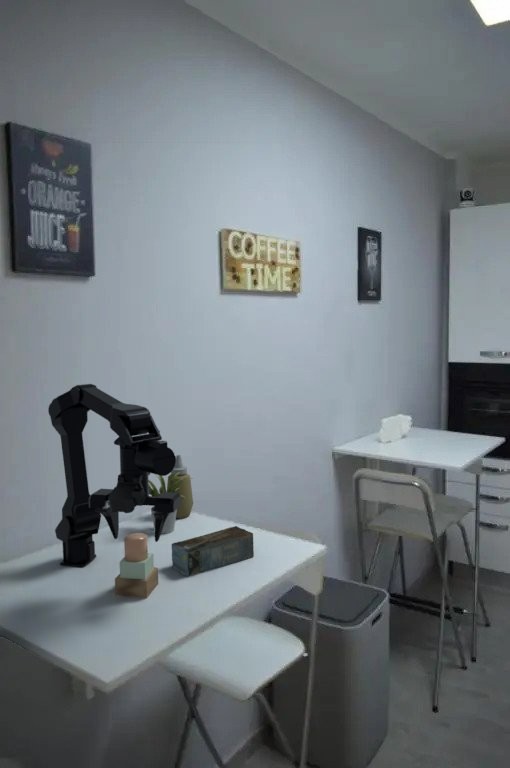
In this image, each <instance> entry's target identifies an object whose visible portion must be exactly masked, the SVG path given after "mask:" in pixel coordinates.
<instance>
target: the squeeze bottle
mask: <svg viewBox="0 0 510 768" xmlns="http://www.w3.org/2000/svg"><path fill="white" fill-rule="evenodd" d="M175 456H176V463H175V466H174V469H173V470H172V471H171V472H170V474H168V475H167V483H166V491H167V490H168V486H169V483H170V480H171V479H172V477H173V476H174V475H175V474H177V473H179V472H181V473H179V474H178V475H177V477H176V479H175V480H174V482H173V484H172V486H171V488H172V487H173V486H174V484H175V483H176V482H178V481H179V480H180V479H182V480H184V479H187V480H185V481H183V482H182V483H180V482H181V481H182V480H181V481H180V482H179V483H180V484H179V483H178V484H179V486H178V487H177V488H179V489H178V490H177V491H176V493H179V494H180V495H183V496H185V497H181V500H183V501H181V506H180V507H179V508H178V509H177V513H176V519H184V518H187V516H188V517H189V516H190V515H191V512H192V510H193V507H194V498H193V489H192V481H191V480H192V479H188V478H191V476H190V474H189V473H188V470H187V469H188V467H187V466H184V465H183V464H184V463H183V460H182V456H181V454H177V455H175ZM173 488H174V487H173ZM173 488H172V489H173ZM177 488H176V489H177ZM183 517H184V518H183Z"/></svg>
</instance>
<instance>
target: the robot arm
mask: <svg viewBox="0 0 510 768" xmlns="http://www.w3.org/2000/svg"><path fill="white" fill-rule="evenodd" d="M47 410H48V415H49V417H50V421H51V426H52V427H53V428H54V429H55V432H57V433H58V435H59V436H60V442H61V452H62V453H61V454H62V461H63V467H64V468H63V469H64V476H65V484H66V486H65V487H66V492H67V493H66V496H67V497H66V499H65V501H64V504H63V505H62V507H61V516H62V517H61V520H60V521H59V523H58V525H56V528H55V529H54V533H55V535H56V536H55V537H56V539H57V540H59V541H61V542H62V558H63V559H62V560H61V561H60V562H59V565H60V566H72V567H73V566H74V567H84V568H85V567H86V566H87V565H88V564H89V563H91V562H92V561H93V560H94V559H96V557H97V554H96V549H95V545H96V544H95V541H94V539H93V535H98V533H99V530H100V524H101V519H102V516H103V517H104V520H106V523H107V525H108V527H109V530H110V532H111V535H112V536H113V539H114V540H117V539H119V531H120V528H119V527H120V525H119V523H120V522H119V520H120V519H119V518H120V517H119V515H120V514H119V513H125V514H131V513H133V512H134V510H135V507H138V506H140V507H142V506H149V507H150V506H152V507H154V508H155V509H156V510H157V511H156V512H155V513H154V517H155V528H154V541H155V542H156V543H157V542H158V541H159V540H160V537H161V535H162V534H161V532H162V529H163V527H164V524H165V521H166V519H167V517H168V515H169V514H170V513H172V512H174V511H175V510H177V509H178V508H179V507H180V506H181V496H180V494H179V493H175V492H167V491H166V492H162V493H161V494H160V493H159V494H160V495H159V496H157V497H155V496H152V495H150V493H151V488H152V487H151V488H149V485H150V483H149V482H148V480H149V476H150V475H151V474H154V475H155V474H156V475H157V476H158V475H160V476H162V477H166V476H169V475H170V474H171V471H172V470H173V469H174V466H175V463H176V456H177V455H175V452H174V451H173V450H172V449H171V448H170V447H168V441H167V440H162V439H163V438H162V435H161V433H160V432H161V431H160V430H159V428H158V427H157V424H156V422H155V420H154V418H153V416H152V414H151V411H150V410H149V408H147V407H145V406H141V405H138V404H132V403H124V402H122V401H120V400H118V399H116V398H115V397H113V396H112V395H110V394H108V393H107V392H105V391H103V390H101V389H100V388H98V387H97V385H95V384H92V383H84V384H83V383H82V384H77V385H75V386H73V387H71V388H70V389H69V390H68V391H66V392H64V393H62V394H60V395H58V396H57V397H54V398H53V400H51V402H50V403H49V405H48V409H47ZM90 411H92V412H94V413H96V414H97V415H99V416H100V417H102V418H103V419H104V420H106V421H108V422H109V428H110V429H111V431H113V432H114V433H115V434H116V435H117V436H118V437H117V438H116V439H115V440H114V441H113V443H114V445H115V446H119V463H120V464H119V467H120V471H119V472H120V473H119V474H117V483H116V485H115V487H114V488H100V489H98V490H96V491H95V492H93V493H92V494H90V490H89V489H90V488H89V480H88V471H87V462H86V455H85V447H84V439H83V438H84V437H83V432H84V430H85V427H86V426H87V423H88V421H89V420H88V418H89V416H88V412H90Z"/></svg>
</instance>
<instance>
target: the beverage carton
mask: <svg viewBox="0 0 510 768" xmlns="http://www.w3.org/2000/svg"><path fill="white" fill-rule="evenodd" d="M254 552H255V551H254V533H253V532H251V531H249V530H246V529H244V528H240V527H239V526H236V525H234V526H230V527H227V528H224V529H220V530H217V531H213V532H209V533H207V534H204V535H200V536H195V537H192V538H191V537H190V538H188V539H185V540H181V541H177V542H173V543H171V562H172V564H171V565H172V568H174V569H176V570H177V571H179V572H180V573H182V574H184V575H185V576H187V577H192V576H194V575H199V574H202V573H205V571H206V572H209V571H212V570H214V569H218V567H219V568H222V567H225V566H227V565H231V564H233V563H238V562H240V561H244V560H247V559H249V558H253V557H254V555H255V553H254Z"/></svg>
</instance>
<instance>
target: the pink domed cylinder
mask: <svg viewBox="0 0 510 768" xmlns="http://www.w3.org/2000/svg"><path fill="white" fill-rule="evenodd" d="M123 546H124V547H123V548H124V557H125V560H126V561H129V562H139V561H143V560H145V559H147V558H148V553H149V552H148V548H149V547H148V535H147V534H146V533H141V532H140V533H137V532H135V533H129V534H127V535H125V536H124V537H123Z"/></svg>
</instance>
